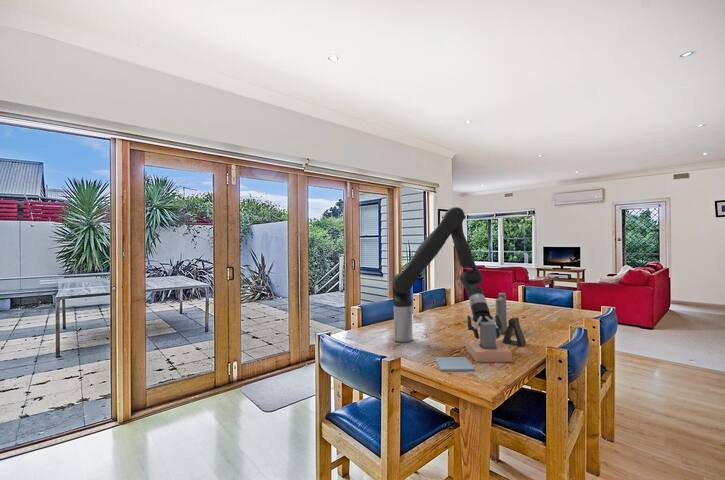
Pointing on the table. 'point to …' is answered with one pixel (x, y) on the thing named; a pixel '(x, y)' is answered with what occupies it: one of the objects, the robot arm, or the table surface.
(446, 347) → the table surface
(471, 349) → the terracotta cradle
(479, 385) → the table surface
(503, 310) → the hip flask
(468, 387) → the table surface
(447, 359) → the slate pad
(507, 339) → the dark grey triangular frame
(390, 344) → the table surface
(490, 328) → the charcoal post
